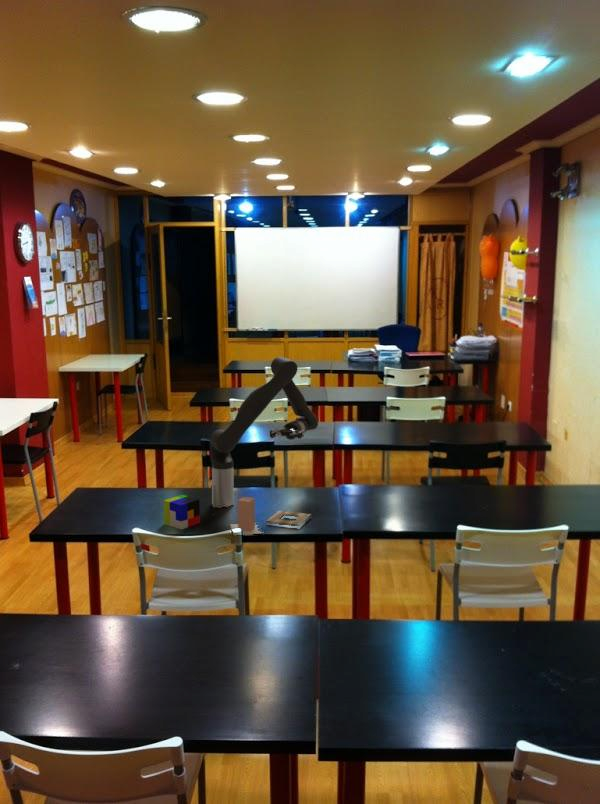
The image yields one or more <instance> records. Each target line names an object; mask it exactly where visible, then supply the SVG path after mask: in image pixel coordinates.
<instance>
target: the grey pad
mask: <svg viewBox="0 0 600 804" xmlns="http://www.w3.org/2000/svg"><path fill="white" fill-rule="evenodd" d="M256 523H257V522H255V524H256ZM229 525H230V526H229V527H230V529H233V528H238V523H234V524H233V523H231V524H229ZM257 526H258V525H255V528H254V529H252V530H251V531H243V530H242V531H243V537H244V535H245V536H254V535H253V534H260V533H264V531H263V532H260V531H258V529H259V528H257Z"/></svg>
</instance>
